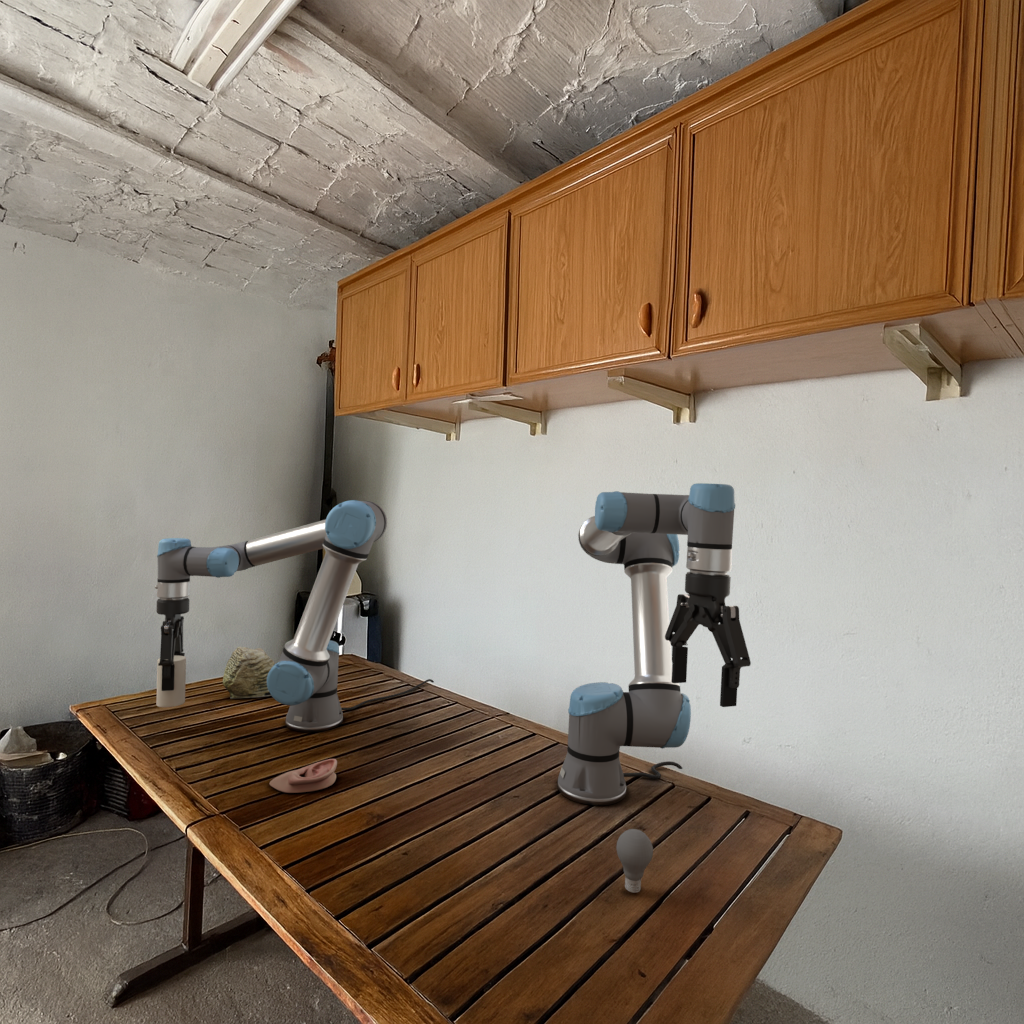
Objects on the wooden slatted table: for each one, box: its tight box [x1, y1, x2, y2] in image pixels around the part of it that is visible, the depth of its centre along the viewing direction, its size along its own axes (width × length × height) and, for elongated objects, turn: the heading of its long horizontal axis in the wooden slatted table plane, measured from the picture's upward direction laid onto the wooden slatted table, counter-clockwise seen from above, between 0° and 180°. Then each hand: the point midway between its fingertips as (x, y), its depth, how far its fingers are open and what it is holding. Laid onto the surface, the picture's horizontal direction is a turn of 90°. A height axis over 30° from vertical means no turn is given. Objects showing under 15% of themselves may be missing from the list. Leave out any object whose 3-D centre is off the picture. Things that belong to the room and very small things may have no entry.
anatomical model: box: [269, 758, 338, 794], centre depth 140 cm, size 13×4×12 cm
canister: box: [155, 655, 187, 708], centre depth 165 cm, size 7×7×12 cm
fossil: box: [222, 646, 276, 699], centre depth 198 cm, size 9×18×15 cm, turn 132°
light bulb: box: [615, 828, 654, 894], centre depth 106 cm, size 6×6×10 cm
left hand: (171, 685), depth 165 cm, fingers closed on canister, 7 cm apart
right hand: (702, 693), depth 111 cm, fingers open, 13 cm apart
